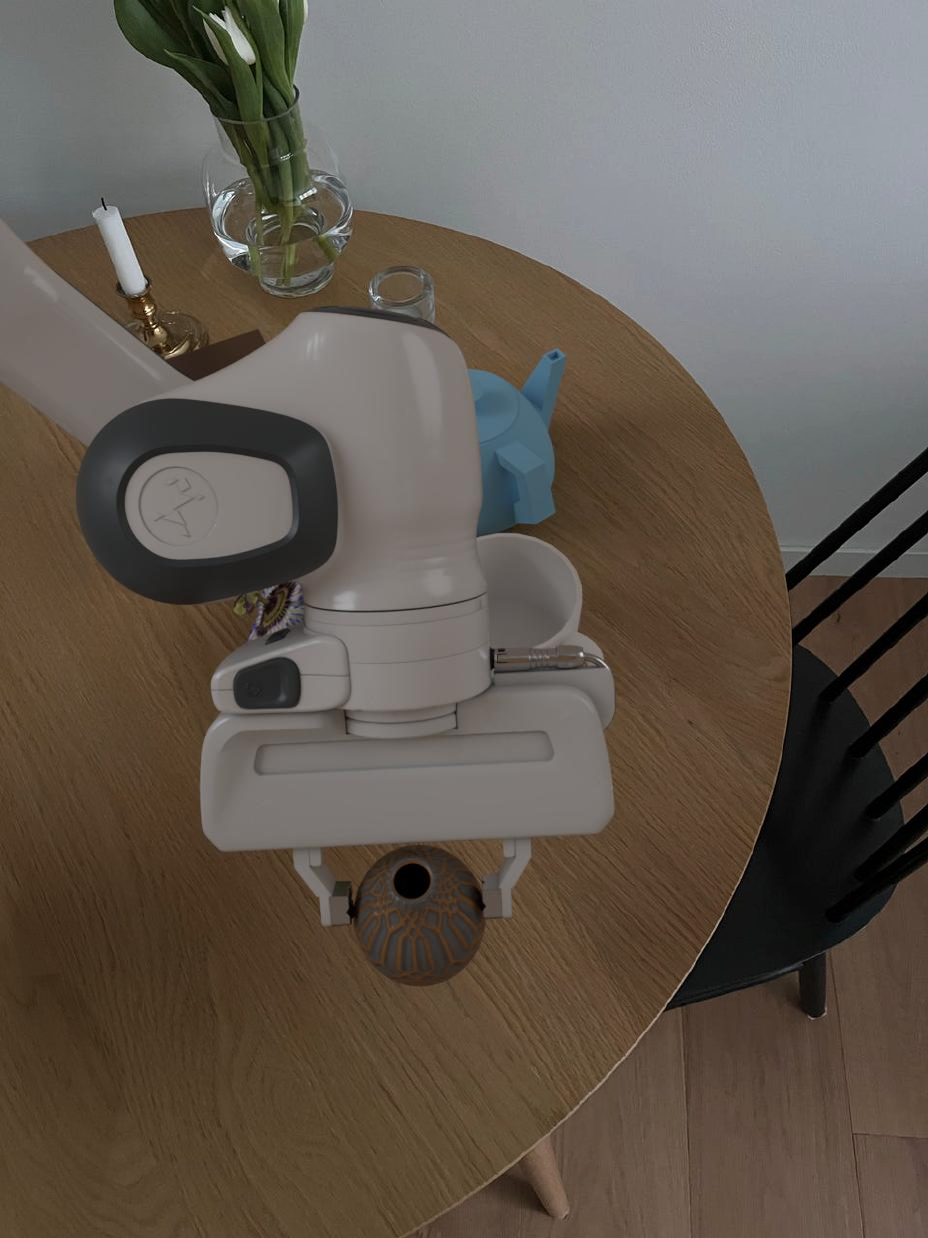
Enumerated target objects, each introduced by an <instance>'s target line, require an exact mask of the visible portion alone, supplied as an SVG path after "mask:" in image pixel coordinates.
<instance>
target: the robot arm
mask: <svg viewBox="0 0 928 1238" xmlns="http://www.w3.org/2000/svg"><path fill="white" fill-rule="evenodd" d="M468 369H469V368H468V365H467V361H466V359H465V356H464V354H463V352H462V350H461V349H460V347H459V345H458V344H457V343H456V341H454V340H453V339H452V338H451V336H450V335H449V334H448V333H447V332H446V331H444V330H443V329H442V328H440V327H439V326H438V325H435V324H434V323H432V322H430V321H429V320H427V319H425V318H421V317H416V316H412V315H409V314H407V313H403V312H397V311H391V310H385V309H379V308H371V307H363V306H354V305H353V306H351V305H348V306H347V305H346V306H340V305H325V306H316V307H313V308H311V309H306V310H303V311H302V312H300V313H299V314H297V316H296V317H295V318H294V319H293V320H292V322H290V323H289V324H288V325H287V326H286V327H285V328H284V329H283V330H282V331H281V332H279V333H278V334H277V335H276V336H274V337H273V338H272V339H270V340H269V341H267V342H266V344H264V345H263V346H261V347H260V348H258V349H257V350H255V351H254V352H252V353H250V354H249V355H247V356H245V357H244V358H242V359H240V360H238V361H237V362H235V363H233V364H231V365H229V366H227V367H225V368H223V369H221V370H219V371H217V372H215V373H213V374H211V375H209V376H206V377H204V378H202V379H199V380H197V379H195V378H193V377H191V376H189V375H187V374H186V373H184V372H183V371H181V370H180V369H178V368H177V367H175V366H173V365H172V364H171V363H169V362H168V361H167V360H166V359H165V358H164V357H163V356H161V355H160V354H159V353H158V352H156V351H155V350H154V349H153V348H151V347H150V346H149V345H147V343H145V342H144V341H142V340H141V339H140V338H139V337H137V336H136V335H135V334H134V333H133V332H131V331H130V330H129V329H127V328H126V327H125V326H124V325H123V324H121V323H120V322H119V321H118V320H116V319H115V318H114V317H113V316H112V315H110V314H109V313H107V312H106V311H105V310H104V309H102V308H101V307H100V306H99V305H98V304H97V303H95V302H94V301H93V300H91V299H90V298H89V297H87V296H86V295H85V294H84V293H83V292H82V291H80V290H79V289H78V288H76V287H75V286H74V285H72V283H70V282H69V281H68V280H66V278H64V277H63V276H62V275H61V274H60V273H59V272H57V271H56V270H54V269H53V268H52V267H51V266H50V265H48V263H46V262H45V261H43V260H42V259H41V258H40V257H39V256H38V255H37V254H36V253H35V252H34V251H33V249H31V248H30V247H29V246H28V245H27V244H26V243H25V242H24V241H23V240H22V239H21V238H20V237H19V236H18V235H17V234H16V233H15V232H14V231H13V230H12V228H11V227H9V225H8V224H7V223H6V222H5V221H4V220H3V219H2V218H1V217H0V383H1V384H2V385H3V386H5V387H7V389H9V390H10V391H12V392H13V393H14V394H16V395H17V396H18V397H20V398H21V399H22V400H24V401H25V402H26V403H28V404H29V405H30V406H32V407H33V408H34V409H36V410H37V411H38V412H39V413H41V414H42V415H44V416H45V417H46V418H48V419H49V420H51V421H52V422H53V423H54V424H55V425H57V426H58V427H60V428H61V429H62V430H64V431H65V432H66V433H68V434H69V435H70V436H72V437H73V438H74V439H76V440H77V441H79V442H80V443H81V444H82V445H84V446H85V447H86V451H85V453H84V455H83V458H82V460H81V463H80V466H79V470H78V474H77V478H76V488H75V505H76V513H77V518H78V523H79V527H80V530H81V532H82V535H83V538H84V540H85V542H86V545H87V546H88V548H89V550H90V551H91V554H92V555H93V557H94V558H95V560H96V561H97V562H98V563H99V564H100V566H101V567H102V568H103V569H104V571H106V572H107V574H108V575H110V576H111V577H112V578H113V579H114V580H115V581H117V583H119V584H120V585H122V586H123V587H125V588H126V589H128V590H129V591H130V592H133V593H135V594H136V595H139V596H141V597H143V598H146V599H149V600H152V601H155V602H158V603H161V604H162V603H163V604H168V605H178V606H208V605H214V604H219V603H222V602H227V601H229V600H232V599H236V598H238V597H239V596H240V595H243V594H247V593H251V592H255V591H259V590H260V591H263V590H264V589H266V588H270V587H273V586H276V585H280V584H283V583H286V582H297V583H299V585H300V586H301V588H302V592H303V601H304V602H303V604H304V616H305V621H303V622H300V623H298V624H295V625H292V626H290V627H287V628H284V629H281V630H279V631H276V632H273V633H270V634H267V635H265V636H262V637H259V638H256V639H254V640H251V641H249V642H247V641H246V642H247V643H246V642H245V643H244V644H242V645H240V646H239V647H237V648H236V649H235V650H233V651H232V652H231V653H229V654H228V655H227V656H226V657H225V658H224V659H223V660H222V661H221V662H220V663H219V665H217V667H216V669H215V670H214V672H213V674H212V677H211V680H210V693H211V698H212V703H213V705H214V706H215V708H216V709H217V710H218V711H219V714H218V715H217V717H216V718H215V719H214V721H213V722H212V723H211V724H210V726H209V727H208V729H207V731H206V733H205V736H204V739H203V741H202V742H203V743H202V748H201V754H200V755H201V756H200V772H199V773H200V774H199V777H200V779H199V801H200V803H199V804H200V818H201V828H202V833H203V835H204V836H205V837H206V838H207V840H209V842H210V843H211V844H212V845H213V846H214V847H215V848H216V849H218V850H219V851H220V852H223V853H233V852H253V851H255V852H256V851H273V850H292V859H293V868H294V869H295V870H296V872H297V874H298V875H299V876H300V877H301V878H302V881H304V882H305V884H306V885H307V887H308V888H309V889H310V890H311V892H312V893H313V894H314V895H315V897H316V898H318V899H319V909H320V910H319V911H320V921H321V926H322V927H323V928H326V927H327V928H329V927H330V928H332V927H343V926H344V927H346V926H352V925H353V916H354V902H355V900H354V899H353V895H354V894H353V893H354V888H353V881H352V880H337V879H336V877H335V876H334V875H333V873H332V872H331V870H330V869H329V867H328V866H327V864H326V863H325V861H324V858H325V855H326V852H327V850H328V848H335V847H336V848H338V847H339V848H340V847H358V846H359V847H361V846H380V845H403V844H404V845H405V844H423V843H442V842H444V843H445V842H462V841H463V842H464V841H466V842H467V841H486V840H487V841H488V840H502V850H503V851H502V852H503V856H504V859H503V861H502V863H501V864H500V866H499V868H498V870H497V872H496V873H489V874H481V890H482V897H483V917H484V919H486V920H497V919H498V920H499V919H513V901H512V889H514V888H515V887H516V885H517V883H518V881H519V879H520V878H521V876H522V874H523V872H524V870H525V869H526V868H527V866H528V864H529V862H530V861H531V859H532V838H549V837H550V838H552V837H572V836H573V837H574V836H590V835H591V836H592V835H598V834H600V833H602V832H603V830H604V829H605V828H606V827H607V825H609V823H610V821H611V820H612V819H613V818H614V816H615V809H616V807H615V796H614V785H613V775H612V768H611V763H610V757H609V751H608V746H607V741H606V736H605V733H604V732H605V731H606V730H607V729H608V728H609V726H610V725H611V724H612V722H613V720H614V717H615V715H616V709H617V697H616V696H617V693H616V691H617V690H616V678H615V675H614V672H613V670H612V668H611V666H610V665H609V664H608V662H606V661H605V659H604V660H603V659H601V658H600V657H598V656H596V655H594V654H590V653H585V652H584V651H583V648H582V647H580V646H573V645H562V646H556V648H547V649H546V648H541V649H540V648H536V649H534V648H530V649H529V648H498V649H491V647H490V632H489V612H488V592H487V581H486V577H485V573H484V570H483V568H482V565H481V562H480V559H479V555H478V549H477V538H478V537H476V534H477V524H478V518H479V514H480V510H481V506H482V499H483V490H482V473H481V458H480V445H479V435H478V425H477V417H476V409H475V402H474V396H473V390H472V385H471V380H470V376H469V372H468ZM260 591H259V592H260ZM585 661H588V662H591V663H593V664H595V665H594V666H587V665H584V664H585ZM547 667H548V668H547ZM492 669H494V670H493V671H494V678H492V676H491V671H492Z"/></svg>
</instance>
